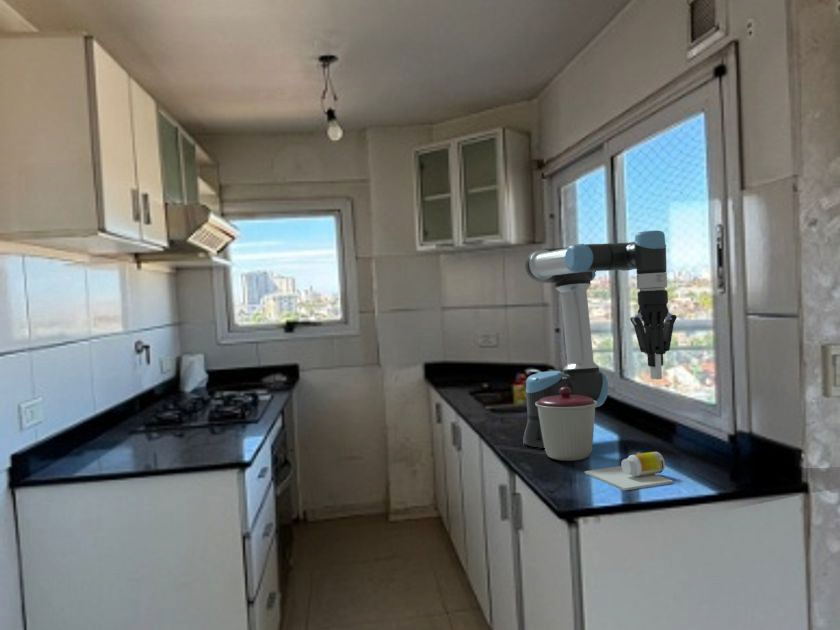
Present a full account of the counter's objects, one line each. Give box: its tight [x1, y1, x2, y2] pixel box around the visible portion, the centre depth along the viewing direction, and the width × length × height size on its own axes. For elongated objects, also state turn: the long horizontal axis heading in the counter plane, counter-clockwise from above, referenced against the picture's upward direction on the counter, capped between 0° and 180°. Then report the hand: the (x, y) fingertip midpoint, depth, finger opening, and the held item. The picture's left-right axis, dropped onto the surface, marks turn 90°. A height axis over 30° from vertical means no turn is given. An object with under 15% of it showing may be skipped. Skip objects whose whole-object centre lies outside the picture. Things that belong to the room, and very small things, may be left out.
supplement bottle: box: [620, 451, 666, 477], centre depth 168 cm, size 6×6×10 cm
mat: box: [584, 465, 674, 492], centre depth 168 cm, size 18×14×1 cm
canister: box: [535, 387, 597, 462], centre depth 193 cm, size 18×18×21 cm
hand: (656, 378), depth 171 cm, fingers closed
